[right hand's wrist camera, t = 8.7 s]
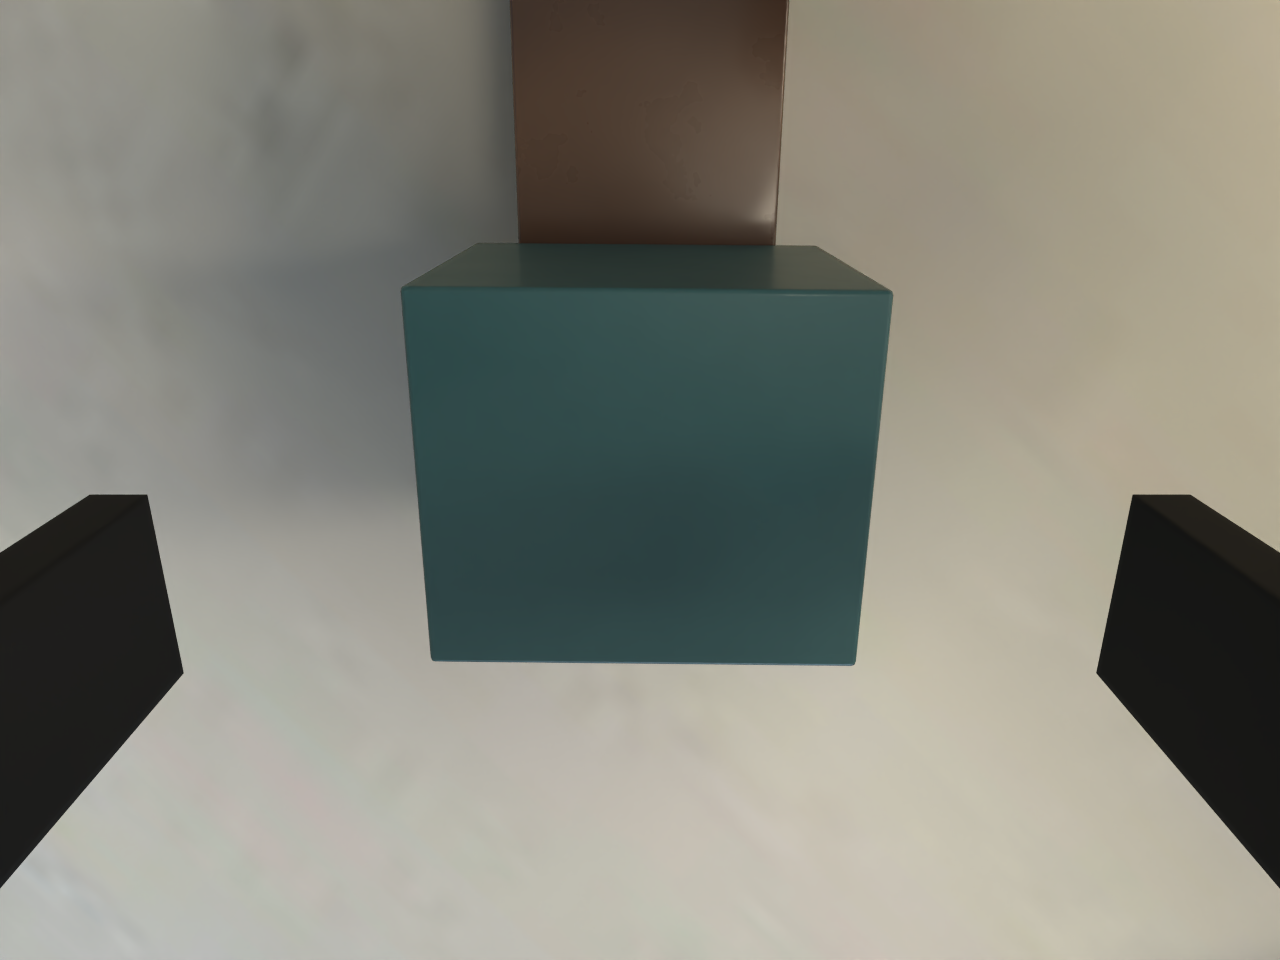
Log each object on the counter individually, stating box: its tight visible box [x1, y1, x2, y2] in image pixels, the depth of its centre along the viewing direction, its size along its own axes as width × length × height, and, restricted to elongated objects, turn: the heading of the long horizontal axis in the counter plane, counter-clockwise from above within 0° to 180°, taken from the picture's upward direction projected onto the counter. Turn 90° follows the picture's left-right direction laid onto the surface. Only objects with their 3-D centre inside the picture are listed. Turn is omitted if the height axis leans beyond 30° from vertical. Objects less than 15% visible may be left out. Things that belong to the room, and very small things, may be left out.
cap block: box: [401, 243, 893, 666], centre depth 19 cm, size 7×8×7 cm
